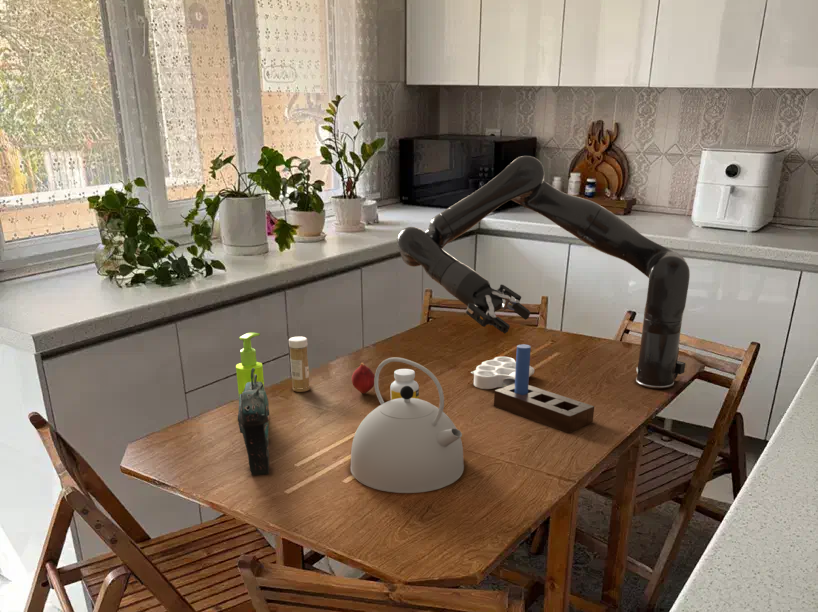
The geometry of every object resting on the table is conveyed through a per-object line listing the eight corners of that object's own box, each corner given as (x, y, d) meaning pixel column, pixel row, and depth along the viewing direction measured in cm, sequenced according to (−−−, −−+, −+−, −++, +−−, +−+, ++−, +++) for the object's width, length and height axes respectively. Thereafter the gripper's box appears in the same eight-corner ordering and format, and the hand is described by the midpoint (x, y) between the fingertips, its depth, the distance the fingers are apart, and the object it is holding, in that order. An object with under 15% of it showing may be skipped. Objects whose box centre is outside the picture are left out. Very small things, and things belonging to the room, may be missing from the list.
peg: (519, 403, 189) (523, 343, 183) (529, 406, 187) (533, 346, 181) (510, 406, 187) (514, 346, 181) (521, 410, 185) (524, 349, 179)
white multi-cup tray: (514, 394, 195) (460, 385, 201) (538, 373, 209) (487, 365, 216) (514, 381, 193) (460, 372, 200) (539, 361, 208) (487, 353, 214)
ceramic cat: (274, 477, 153) (266, 381, 145) (240, 480, 152) (230, 383, 144) (273, 437, 171) (266, 349, 163) (243, 439, 170) (235, 351, 162)
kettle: (495, 468, 156) (500, 360, 147) (419, 509, 141) (419, 391, 132) (404, 434, 172) (404, 335, 163) (327, 468, 157) (321, 360, 148)
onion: (380, 392, 197) (379, 361, 194) (366, 399, 192) (365, 368, 189) (361, 387, 200) (360, 358, 196) (347, 394, 195) (346, 364, 192)
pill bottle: (416, 426, 176) (415, 377, 172) (388, 424, 177) (387, 375, 173) (421, 415, 182) (421, 368, 178) (394, 413, 183) (393, 366, 179)
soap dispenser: (274, 415, 183) (267, 332, 175) (257, 425, 177) (249, 340, 169) (253, 411, 185) (246, 329, 177) (235, 421, 179) (227, 337, 171)
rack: (518, 397, 193) (519, 381, 191) (592, 422, 178) (594, 406, 176) (493, 406, 188) (494, 390, 186) (568, 433, 172) (569, 416, 171)
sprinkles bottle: (313, 389, 199) (310, 338, 193) (299, 393, 196) (295, 342, 190) (302, 385, 202) (299, 334, 196) (288, 389, 199) (284, 338, 193)
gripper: (450, 281, 177) (506, 322, 171) (487, 261, 185) (541, 299, 180) (442, 307, 182) (495, 347, 177) (477, 286, 191) (529, 323, 186)
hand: (518, 322), depth 179 cm, fingers open, 8 cm apart
